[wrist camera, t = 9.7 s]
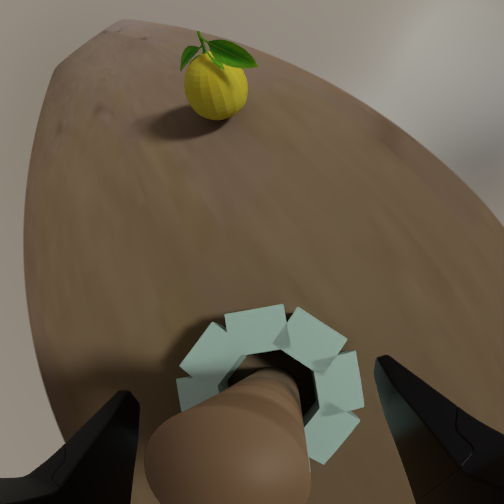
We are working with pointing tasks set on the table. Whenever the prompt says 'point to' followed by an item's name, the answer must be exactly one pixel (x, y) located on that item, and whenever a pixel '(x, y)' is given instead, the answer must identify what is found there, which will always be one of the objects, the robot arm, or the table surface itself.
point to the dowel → (234, 447)
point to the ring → (297, 346)
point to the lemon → (216, 78)
